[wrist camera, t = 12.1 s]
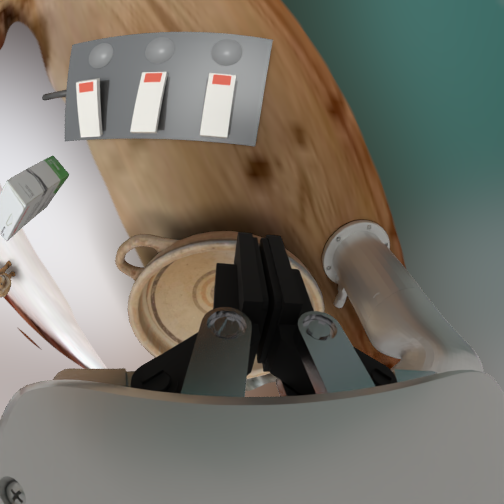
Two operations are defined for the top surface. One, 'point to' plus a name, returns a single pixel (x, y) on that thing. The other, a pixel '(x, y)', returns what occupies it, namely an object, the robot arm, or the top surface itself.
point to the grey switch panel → (169, 82)
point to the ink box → (29, 194)
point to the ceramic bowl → (185, 287)
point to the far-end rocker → (217, 105)
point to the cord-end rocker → (89, 107)
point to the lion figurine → (5, 280)
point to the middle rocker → (148, 102)
